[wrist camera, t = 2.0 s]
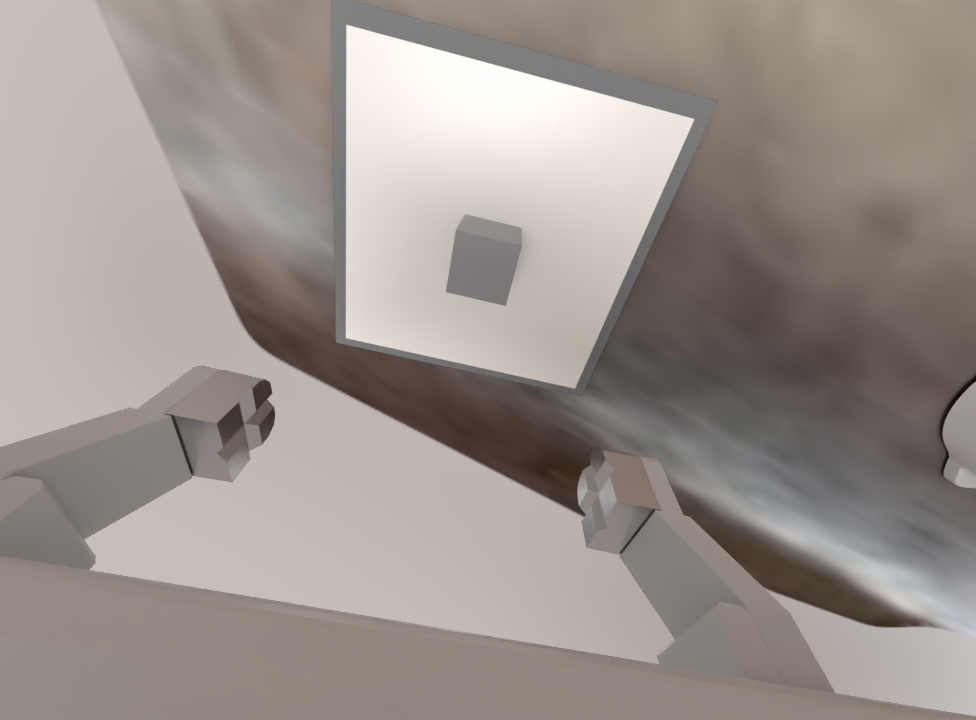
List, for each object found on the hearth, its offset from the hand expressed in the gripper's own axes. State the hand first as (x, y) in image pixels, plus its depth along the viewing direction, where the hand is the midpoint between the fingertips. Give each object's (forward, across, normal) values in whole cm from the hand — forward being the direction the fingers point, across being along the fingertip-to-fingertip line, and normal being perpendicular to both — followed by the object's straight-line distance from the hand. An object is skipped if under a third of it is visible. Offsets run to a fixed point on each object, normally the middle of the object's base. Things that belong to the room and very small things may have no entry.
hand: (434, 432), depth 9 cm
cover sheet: (+17, 0, 0) cm, 17 cm away
